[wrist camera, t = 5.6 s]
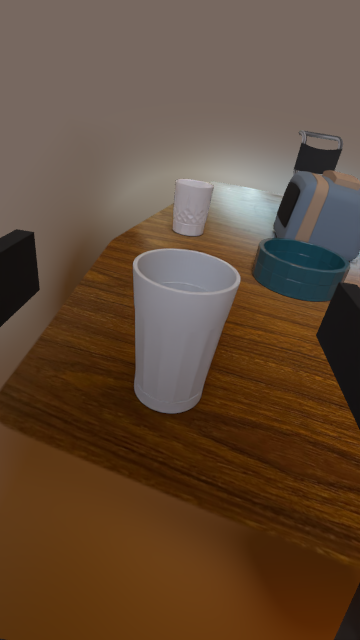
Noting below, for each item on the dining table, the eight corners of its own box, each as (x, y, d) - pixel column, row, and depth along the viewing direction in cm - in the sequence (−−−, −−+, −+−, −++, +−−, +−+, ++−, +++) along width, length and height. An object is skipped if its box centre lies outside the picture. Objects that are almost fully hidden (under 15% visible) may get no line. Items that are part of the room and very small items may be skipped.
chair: (309, 215, 103) (336, 136, 92) (347, 234, 90) (384, 143, 78) (273, 213, 99) (297, 129, 88) (307, 232, 86) (340, 136, 74)
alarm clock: (270, 230, 83) (290, 160, 74) (335, 241, 82) (362, 172, 74) (279, 252, 69) (304, 169, 60) (357, 265, 68) (394, 184, 60)
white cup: (164, 225, 74) (169, 177, 69) (195, 225, 77) (203, 180, 72) (178, 237, 68) (185, 186, 63) (211, 237, 71) (221, 188, 66)
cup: (129, 425, 27) (141, 293, 20) (121, 361, 33) (127, 246, 27) (222, 416, 29) (258, 295, 22) (197, 358, 35) (219, 250, 29)
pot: (256, 292, 51) (265, 262, 48) (248, 258, 63) (255, 232, 61) (350, 308, 51) (364, 278, 48) (324, 270, 63) (334, 245, 60)
